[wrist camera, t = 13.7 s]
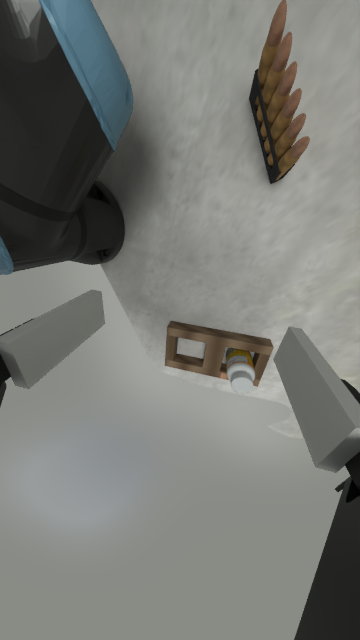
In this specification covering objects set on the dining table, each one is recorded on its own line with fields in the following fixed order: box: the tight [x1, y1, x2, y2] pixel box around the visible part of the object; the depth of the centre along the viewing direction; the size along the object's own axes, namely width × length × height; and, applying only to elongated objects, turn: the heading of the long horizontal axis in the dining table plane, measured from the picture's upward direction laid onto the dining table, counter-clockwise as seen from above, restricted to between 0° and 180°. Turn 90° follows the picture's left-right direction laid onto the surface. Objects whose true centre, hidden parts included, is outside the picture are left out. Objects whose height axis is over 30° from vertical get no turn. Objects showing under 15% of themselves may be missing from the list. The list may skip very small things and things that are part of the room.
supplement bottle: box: [226, 348, 255, 393], centre depth 37 cm, size 5×5×10 cm
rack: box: [165, 321, 274, 387], centre depth 41 cm, size 22×11×3 cm, turn 85°
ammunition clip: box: [249, 0, 310, 184], centre depth 20 cm, size 11×2×12 cm, turn 26°
